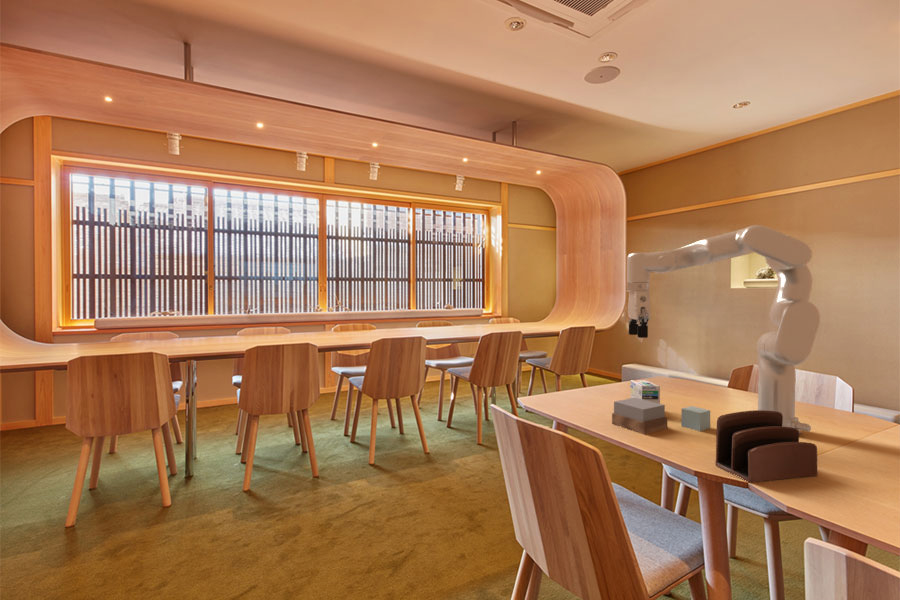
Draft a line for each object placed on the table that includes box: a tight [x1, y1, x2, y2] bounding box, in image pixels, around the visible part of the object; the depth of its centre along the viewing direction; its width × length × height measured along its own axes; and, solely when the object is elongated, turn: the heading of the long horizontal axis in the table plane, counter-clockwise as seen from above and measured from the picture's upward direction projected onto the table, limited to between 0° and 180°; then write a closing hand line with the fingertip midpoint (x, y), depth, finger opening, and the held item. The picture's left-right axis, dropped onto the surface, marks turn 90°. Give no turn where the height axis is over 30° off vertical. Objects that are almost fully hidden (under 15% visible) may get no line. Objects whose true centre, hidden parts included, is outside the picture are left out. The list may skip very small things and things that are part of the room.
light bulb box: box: [630, 379, 661, 404], centre depth 156 cm, size 11×7×11 cm, turn 179°
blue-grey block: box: [680, 405, 711, 432], centre depth 138 cm, size 6×6×6 cm
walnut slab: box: [611, 412, 669, 435], centre depth 139 cm, size 12×12×4 cm
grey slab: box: [613, 397, 666, 422], centre depth 139 cm, size 11×11×4 cm
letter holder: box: [715, 409, 818, 484], centre depth 105 cm, size 10×20×14 cm, turn 101°
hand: (637, 336), depth 149 cm, fingers open, 9 cm apart
